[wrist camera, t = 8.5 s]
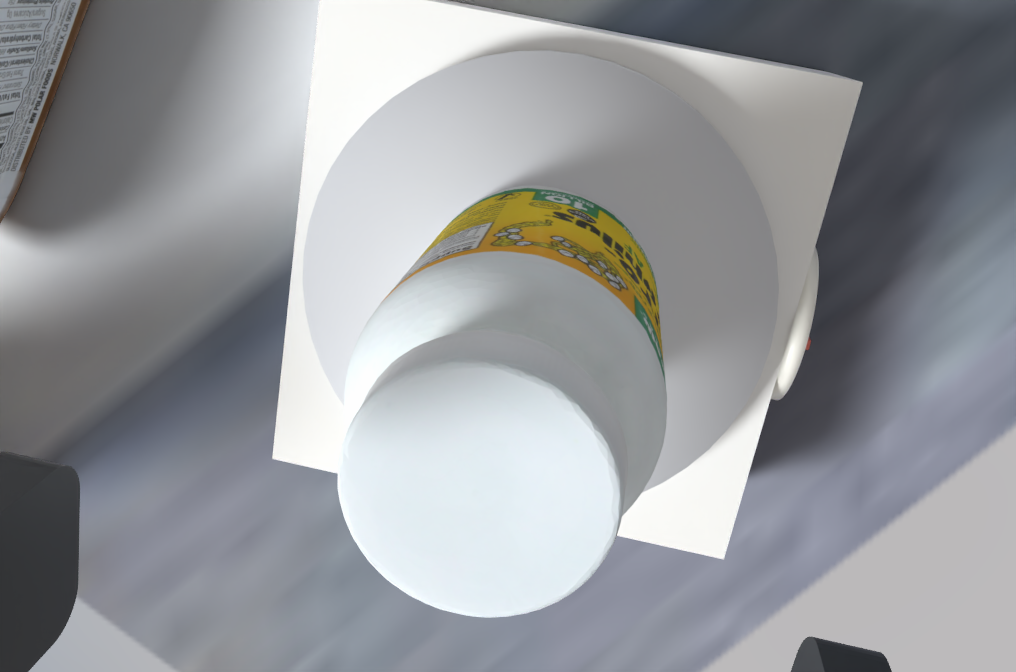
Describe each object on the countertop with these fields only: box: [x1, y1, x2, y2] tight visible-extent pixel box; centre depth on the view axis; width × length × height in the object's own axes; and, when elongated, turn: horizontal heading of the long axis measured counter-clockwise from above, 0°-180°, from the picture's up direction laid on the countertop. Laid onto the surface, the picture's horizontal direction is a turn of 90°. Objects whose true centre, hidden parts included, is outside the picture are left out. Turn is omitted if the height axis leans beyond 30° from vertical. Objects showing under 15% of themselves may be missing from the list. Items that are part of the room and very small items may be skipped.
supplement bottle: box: [338, 185, 667, 617], centre depth 18 cm, size 5×5×10 cm
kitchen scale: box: [272, 0, 863, 559], centre depth 24 cm, size 12×13×5 cm
